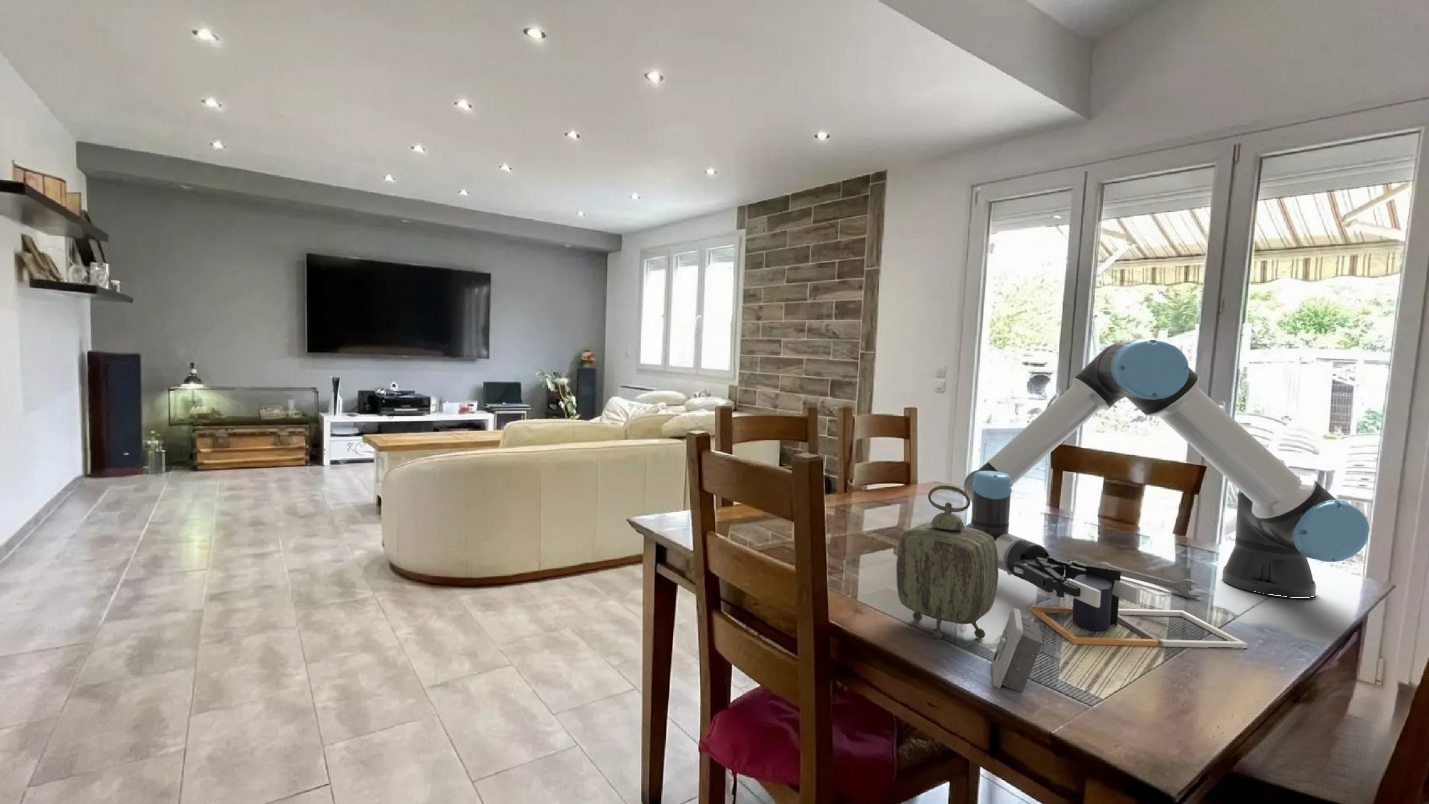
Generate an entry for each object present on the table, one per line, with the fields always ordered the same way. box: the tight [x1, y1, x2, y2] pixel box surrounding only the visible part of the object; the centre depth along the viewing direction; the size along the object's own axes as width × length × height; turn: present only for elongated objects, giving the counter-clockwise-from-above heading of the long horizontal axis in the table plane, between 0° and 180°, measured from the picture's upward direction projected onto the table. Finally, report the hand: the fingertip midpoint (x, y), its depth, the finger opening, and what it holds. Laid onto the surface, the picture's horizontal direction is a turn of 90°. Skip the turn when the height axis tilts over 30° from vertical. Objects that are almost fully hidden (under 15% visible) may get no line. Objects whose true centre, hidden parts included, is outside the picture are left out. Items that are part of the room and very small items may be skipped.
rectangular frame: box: [1029, 605, 1248, 649], centre depth 114 cm, size 28×15×1 cm, turn 90°
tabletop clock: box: [895, 485, 999, 640], centre depth 108 cm, size 14×9×25 cm, turn 50°
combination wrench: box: [1096, 561, 1202, 600], centre depth 137 cm, size 4×1×20 cm
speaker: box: [1071, 564, 1122, 633], centre depth 114 cm, size 8×6×10 cm
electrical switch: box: [991, 607, 1043, 693], centre depth 93 cm, size 9×5×9 cm, turn 158°
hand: (1118, 597), depth 109 cm, fingers open, 7 cm apart
